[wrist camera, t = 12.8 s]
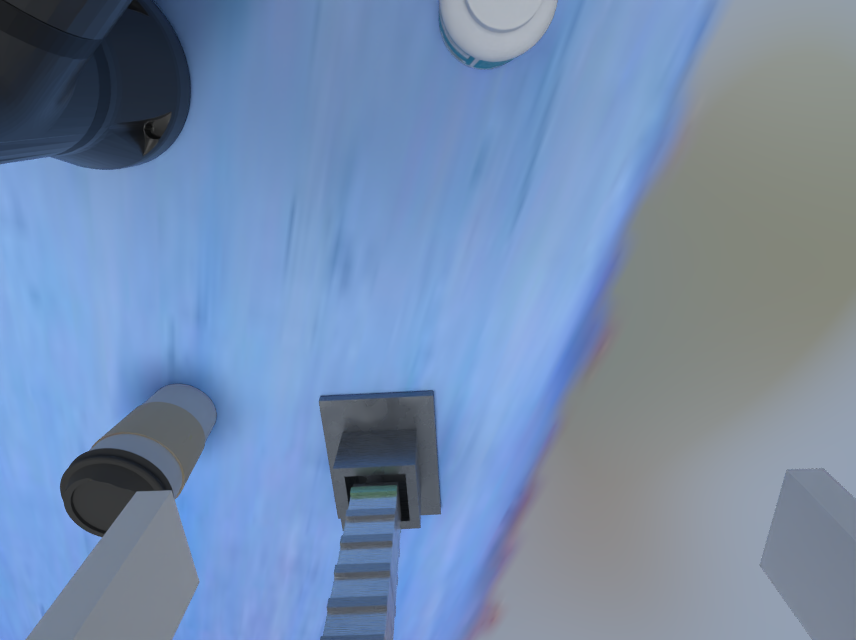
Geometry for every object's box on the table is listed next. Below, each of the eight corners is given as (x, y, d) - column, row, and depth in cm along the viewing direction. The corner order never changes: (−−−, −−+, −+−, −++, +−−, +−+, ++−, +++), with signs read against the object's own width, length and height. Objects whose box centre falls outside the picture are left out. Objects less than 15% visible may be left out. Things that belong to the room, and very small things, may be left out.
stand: (339, 512, 61) (327, 567, 54) (320, 396, 55) (304, 440, 48) (440, 507, 61) (442, 562, 54) (433, 390, 55) (433, 434, 47)
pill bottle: (544, -20, 40) (595, -74, 28) (513, 81, 43) (547, 73, 31) (452, -50, 39) (462, -120, 27) (427, 54, 42) (425, 35, 30)
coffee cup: (216, 455, 58) (150, 565, 44) (135, 430, 57) (41, 536, 43) (234, 390, 55) (168, 487, 41) (148, 362, 53) (51, 453, 40)
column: (359, 526, 53) (317, 776, 33) (351, 475, 50) (302, 714, 31) (402, 524, 52) (385, 774, 33) (397, 473, 50) (375, 712, 30)
